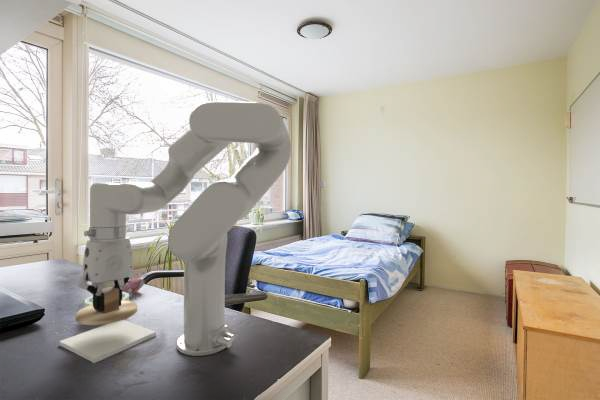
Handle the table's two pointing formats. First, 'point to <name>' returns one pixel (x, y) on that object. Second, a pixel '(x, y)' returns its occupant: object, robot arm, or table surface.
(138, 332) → the mat
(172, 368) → the table surface
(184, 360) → the table surface
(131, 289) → the video game controller
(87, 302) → the bowl
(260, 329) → the table surface
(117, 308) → the lid
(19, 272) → the table surface
